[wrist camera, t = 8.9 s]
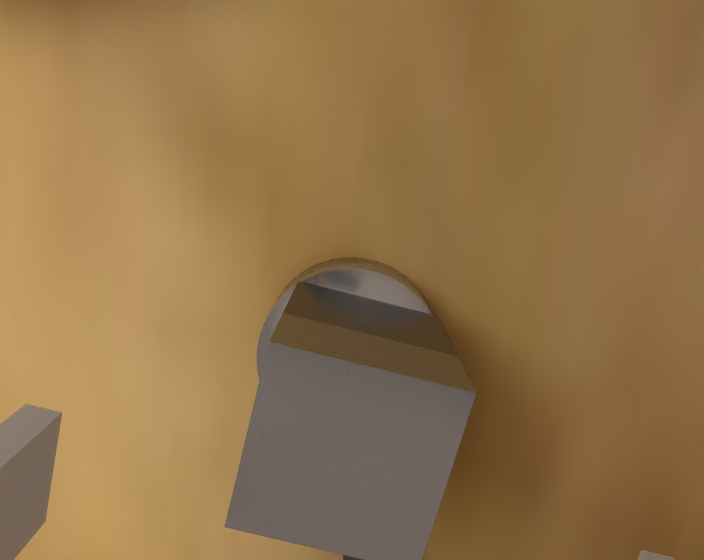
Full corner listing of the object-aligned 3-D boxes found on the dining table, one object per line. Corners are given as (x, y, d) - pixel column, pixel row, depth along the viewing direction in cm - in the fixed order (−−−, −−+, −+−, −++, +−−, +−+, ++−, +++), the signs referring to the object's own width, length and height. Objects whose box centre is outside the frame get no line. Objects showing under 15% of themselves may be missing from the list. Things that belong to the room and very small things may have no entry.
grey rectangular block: (298, 280, 24) (269, 341, 16) (437, 315, 24) (476, 393, 16) (266, 410, 25) (224, 527, 17) (399, 442, 25) (417, 572, 17)
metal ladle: (257, 265, 27) (229, 296, 21) (429, 249, 26) (449, 276, 20) (305, 628, 31) (293, 740, 25) (453, 618, 31) (476, 727, 25)
